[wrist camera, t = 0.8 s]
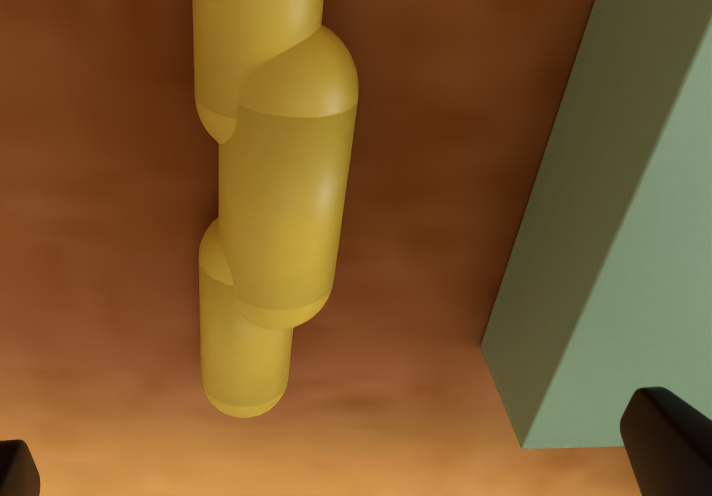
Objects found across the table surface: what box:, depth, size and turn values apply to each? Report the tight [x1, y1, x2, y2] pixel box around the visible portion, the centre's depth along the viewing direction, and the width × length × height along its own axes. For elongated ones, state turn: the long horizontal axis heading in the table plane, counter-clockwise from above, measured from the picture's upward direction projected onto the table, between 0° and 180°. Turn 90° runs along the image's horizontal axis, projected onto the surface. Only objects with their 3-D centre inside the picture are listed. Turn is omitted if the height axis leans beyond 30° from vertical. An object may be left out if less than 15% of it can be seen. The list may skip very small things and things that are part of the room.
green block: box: [480, 0, 712, 449], centre depth 19 cm, size 16×9×5 cm, turn 173°
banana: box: [193, 0, 359, 418], centre depth 18 cm, size 19×4×4 cm, turn 173°
